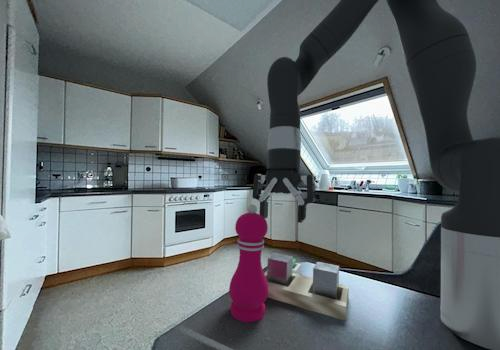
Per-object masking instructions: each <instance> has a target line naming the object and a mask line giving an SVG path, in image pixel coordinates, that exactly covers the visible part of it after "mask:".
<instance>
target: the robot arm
mask: <svg viewBox="0 0 500 350" xmlns="http://www.w3.org/2000/svg"><path fill="white" fill-rule="evenodd" d="M379 1H380V0H340V1H339V2H338V3H336V5H335V7H333V9H331V11H329V13H328V14H327V15H326V16H325V17H324V19H322V20H321V21H320V23H318V24H317V25H316V26H315V27H314V29H313V30H311V31H310V33H308V35H307V36H306V37H305V38H304V39H303V40H302V42H301V43H300V45H299V52H298V56H297V58H296V59H295V60H294V59H293V58H291V57H288V56H282V57H279V58H277V59H275V61H273V62H272V63H271V66H270V67H269V70H268V73H267V80H266V83H267V86H266V87H267V93H268V95H267V96H268V102H269V108H270V114H269V116H270V117H269V131H268V138H267V147H266V148H267V160H266V161H267V162H266V169H267V171H266V174H261V173H256V174H254V176H253V185H252V194H251V195H252V197H251V198H252V199H254V200H257V201H258V202H259V214H260V215H261V216H263V217H264V218H265V219H267V218H268V216H269V215H268V214H269V202H268V201H269V199H270V198H271V196H273V195H274V193H275V194H286V195H287V194H288V195H289V194H291V195H292V196H293V198H295V200H296V201H297V203H298V205H297V223H303V222H304V220H306V218H307V206H308V205H309V204H311V203H315V202H316V188H315V187H316V185H315V184H316V183H315V181H316V180H315V178H316V177H315V176H314V175H313V174H307V175H302V174H301V151H302V150H301V148H302V147H301V146H302V144H301V143H302V138H301V137H302V136H301V108H300V105H299V101H298V97H299V96H300V95H301V94H302V93H303V92H304V91H305V90H306V89H307V87H308V86H309V85H310V84H311V82H312V81H313V80H314V79H315V77H316V75H317V74H318V73H319V71H320V70H321V68H322V67H323V66H324V65H325V64H326V63H327V62H328V61H330V60H331V58H332V57H333V56H335V55H336V54H337V53H338V51H340V50H341V49H342V48H343V46H345V45H346V43H348V41H349V40H350V39H351V37H353V35H354V33H356V32H357V30H358V29H359V27H360V26H361V25H362V23H363V22H364V20H365V19H366V18H367V17H368V15H369V14H370V12H371V11H372V9H373V8H374V7H375V6H376V4H377V3H378V2H379ZM385 1H386V4H387V6H388V7H389V10H390V12H391V15H392V17H393V19H394V21H395V25H396V28H397V32H398V38H399V41H400V46H401V49H402V53H403V56H404V61H405V64H406V69H407V72H408V75H409V78H410V79H409V80H410V82H411V85H412V88H413V91H414V94H415V96H416V101H417V105H418V108H419V113H420V115H421V119H422V123H423V127H424V132H425V137H426V138H425V139H426V144H427V150H428V159H429V165H430V169H431V173H432V175H433V177H434V179H435V180H436V181H437V183H438V184H439V185H440V186H441V187H443V188H445V189H446V190H449V191H453V192H458V198H457V202H456V203H455V205H454V206H453V207H452V208H450V209H449V210H446V211H444V212H442V213H441V217H440V309H439V310H440V320H441V322H442V324H444V325H445V326H446V327H447V328H448V329H449V330H450V331H451V332H452V333H453V334H454V335H456V336H457V337H458V338H459V337H460V338H461V339H462V340H465V341H467V342H470V343H472V344H474V345H477V346H480V347H482V348H484V349H488V350H500V136H488V137H483V138H478V139H473V135H472V132H471V129H470V125H469V120H468V108H469V102H470V98H471V94H472V91H473V86H474V82H475V79H476V73H477V59H476V58H477V57H476V55H475V51H474V47H473V44H472V42H471V41H472V40H471V39H470V35H469V33H468V30H467V29H466V25H464V24H463V22H462V21H461V20H460V19H458V18H457V17H456V16H454V15H453V14H451V13H449V12H448V11H446V10H445V9H444V8H442V7H441V5H440V4H439V2H438V0H385ZM265 181H266V183H267V186H266V188H264V190H263V192H262V188H263V184H264V183H265ZM301 182H303V184H304V185H305V186H306V198H305V196H304V195H303V192H302V191H301V190H300V187H298V186H299V185H300V184H301Z"/></svg>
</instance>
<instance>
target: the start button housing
mask: <svg viewBox="0 0 500 350" xmlns="http://www.w3.org/2000/svg"><path fill="white" fill-rule="evenodd" d="M292 273H294V274H299V275H302V264H301V263H299V262H296V267H295V268H294V269H292Z"/></svg>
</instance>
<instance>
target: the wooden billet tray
mask: <svg viewBox="0 0 500 350" xmlns="http://www.w3.org/2000/svg"><path fill="white" fill-rule="evenodd" d="M264 274H265V277H266V279H267V270H265V272H264ZM267 283H268V297H267V298H270V299H272V300H275V301H278V302H282V303H286V304H290V305H292V306H296V307H299V308H301V309H305V310H308V311H311V312H314V313H319V314H322V315H324V316H328V317H330V318H331V317H332V318H334V319H338V320H342V321H345V322H346V321H347V320H346V319H347V315H348V314H347V313H348V312H347V311H348V304H349V288H350V287H349V285H344V284H341V283H339V289H338V300H335V299H331V298H327V297H323V296H320V295H316V294H313V277H311V276H306V275H302V274H300V275H299V274H294V273H292V282H291V284H290V285H289V286H288V287H286V286H282V285H279V284H275V283H271V282H268V281H267Z"/></svg>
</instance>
